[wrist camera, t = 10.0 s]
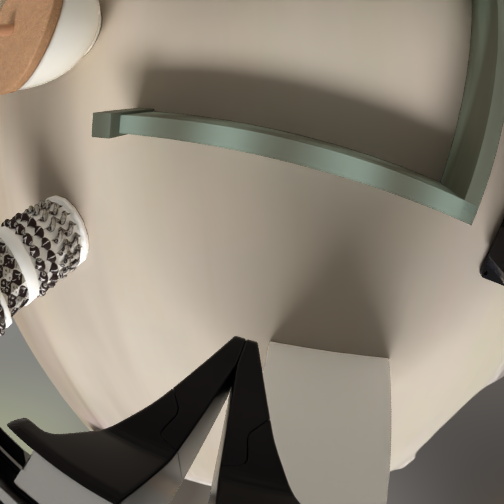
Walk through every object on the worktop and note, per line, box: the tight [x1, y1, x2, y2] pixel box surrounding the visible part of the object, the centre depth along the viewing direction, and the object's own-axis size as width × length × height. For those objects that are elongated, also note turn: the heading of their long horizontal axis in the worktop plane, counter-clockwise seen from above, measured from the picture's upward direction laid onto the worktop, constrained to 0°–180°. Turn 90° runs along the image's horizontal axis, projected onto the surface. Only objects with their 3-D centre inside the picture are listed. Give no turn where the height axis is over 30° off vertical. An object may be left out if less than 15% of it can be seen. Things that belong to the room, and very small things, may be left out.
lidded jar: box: [0, 0, 102, 94], centre depth 12 cm, size 11×11×9 cm
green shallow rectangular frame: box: [92, 0, 504, 225], centre depth 11 cm, size 24×18×5 cm
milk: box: [263, 341, 391, 504], centre depth 17 cm, size 12×12×26 cm
